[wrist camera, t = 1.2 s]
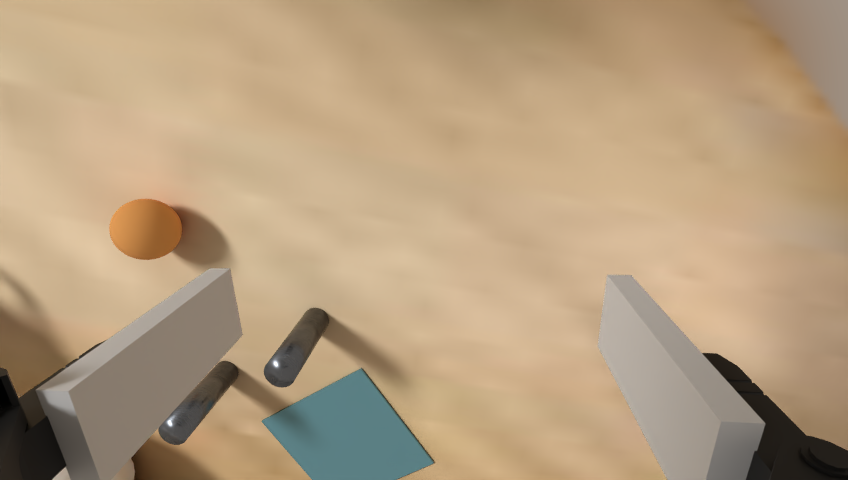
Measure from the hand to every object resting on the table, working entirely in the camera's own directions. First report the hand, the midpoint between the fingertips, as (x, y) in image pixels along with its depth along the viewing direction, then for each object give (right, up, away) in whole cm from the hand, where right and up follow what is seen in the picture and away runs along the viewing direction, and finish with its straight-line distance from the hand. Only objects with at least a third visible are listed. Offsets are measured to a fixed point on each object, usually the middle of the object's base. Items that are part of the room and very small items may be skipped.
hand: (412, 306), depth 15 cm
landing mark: (-8, -20, +33) cm, 39 cm away
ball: (-25, +3, +24) cm, 34 cm away
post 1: (-21, -12, +31) cm, 39 cm away
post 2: (-10, -6, +28) cm, 30 cm away
